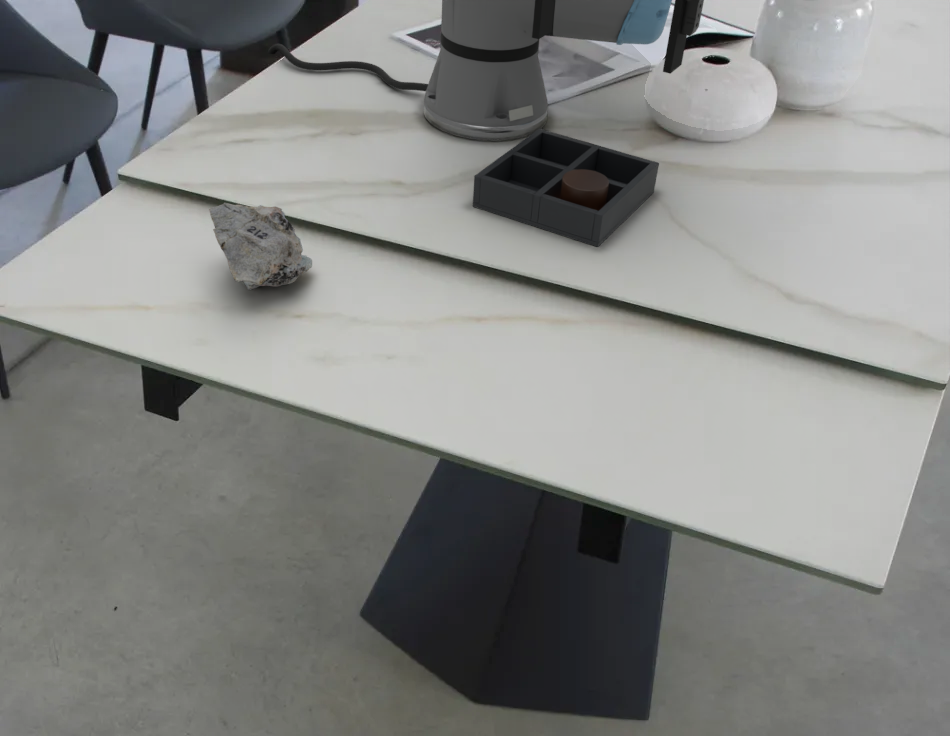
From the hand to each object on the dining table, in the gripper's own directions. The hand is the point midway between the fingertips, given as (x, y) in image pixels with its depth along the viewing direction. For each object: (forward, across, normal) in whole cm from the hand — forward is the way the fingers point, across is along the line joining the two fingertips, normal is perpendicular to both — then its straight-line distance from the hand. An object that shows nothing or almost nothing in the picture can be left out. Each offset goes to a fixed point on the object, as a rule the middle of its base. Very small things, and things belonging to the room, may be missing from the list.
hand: (605, 51), depth 97 cm
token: (+17, 0, -1) cm, 17 cm away
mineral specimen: (+18, -19, -29) cm, 39 cm away
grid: (+18, -4, +3) cm, 18 cm away
